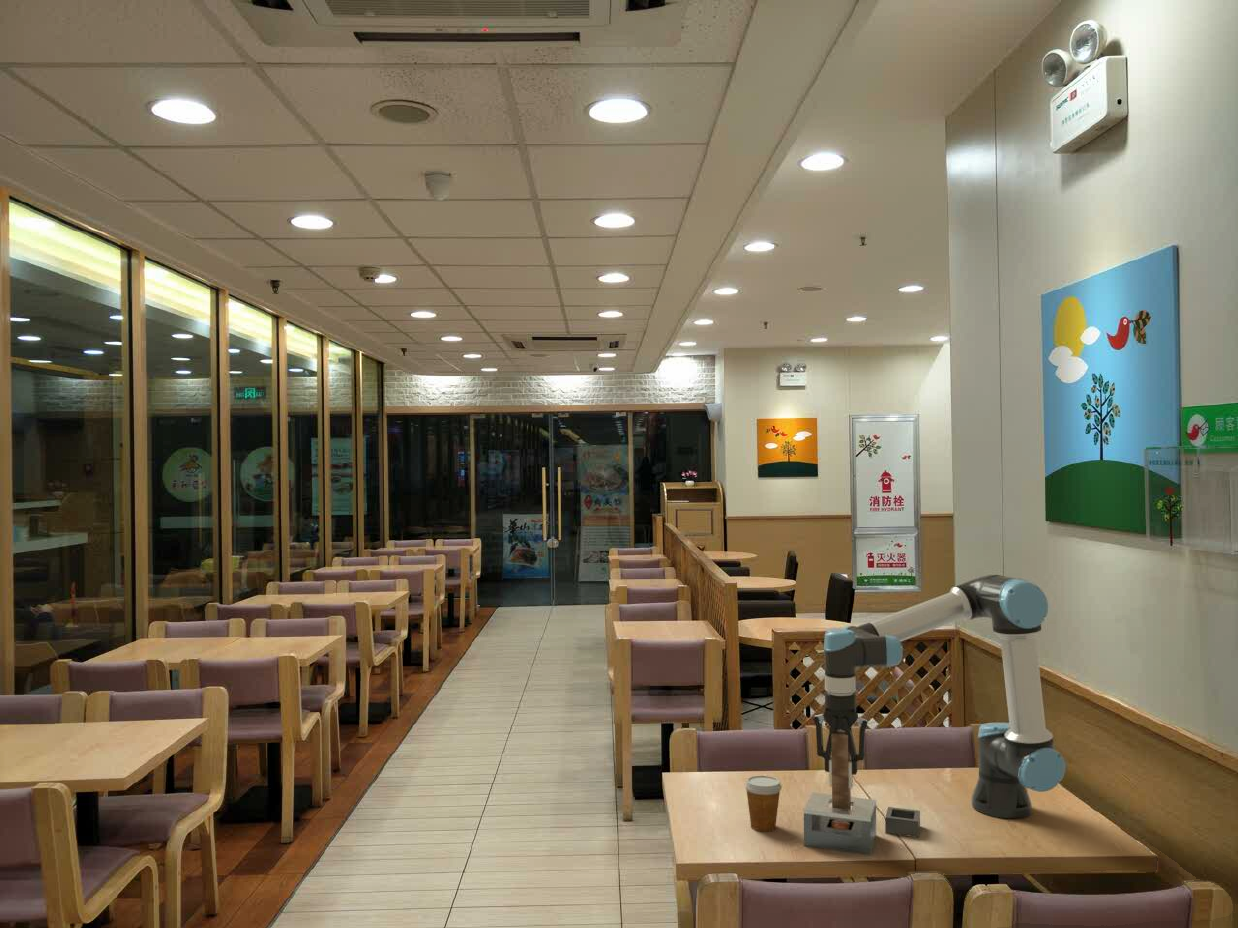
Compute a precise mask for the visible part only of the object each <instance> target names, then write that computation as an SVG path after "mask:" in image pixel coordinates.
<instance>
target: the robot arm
mask: <svg viewBox="0 0 1238 928" xmlns="http://www.w3.org/2000/svg"><path fill="white" fill-rule="evenodd" d="M1048 611H1049V603H1048V599H1047V597H1046V594H1045V592H1044V591H1043V590H1042V589H1041V587H1039V586H1038V585H1037V584H1035V583H1033V582H1031V581H1027V580H1026V579H1023V578H1016V577H1015V578H1014V577H1010V576H1004V575H999V574H989V575H984V576H981V577H978V578H973V579H971V580H968V581H966V582H964V583H961V584H959V585H955V586H953V587H951V588H950V590H949V592H948V593H945V594H942V595H940V596H937V597H934V598H931V599H929V600H926V601H923V602H920V603H918V604H915V605H913V606H910V607H908V608H904V609H902V610H899V611H897V612H894V613H891V614H889V615H886V616H883V617H881V618H877V619H876V620H872V621H870V622H867V623H863V624H861V625H859V626H855V625H846V626H844V627H842V628H833V629H829V630H828V629H827V631H826V632H825V634H824V643H823V651H824V652H823V653H824V655H823V656H824V691H825V693H824V711H823V713H821V714H815V715H814V716H813V718H812V721H813V723H814V725H815V732H816V734H815V735H816V736H815V737H816V754H817V756H818V757H822V758H823V759H824V771H825V772H826V773H829V774H828V779H829V782H828V783H829V785H828V786H829V787H831V788H832V744H831V733H835V731H836V730H843V731H845V734H847V735H848V747H849V751H850V760H849V762H848V767H849V789H853V787H854V776H856V775H857V772H858V762H859V761H863V760H864V759H865V756H866V728H867V726H868V723H869V719H868V718H863V717H860V716H859V714H858V712H857V703H856V702H857V701H856V700H857V699H856V698H857V695H856V694H855V692H856V690H857V689H856V674H857V673H856V670H857V669H860V668H861V669H862V668H883V667H886V668H889V667H894V666H898V665H899V664H901V662H902V660H903V655H904V654H903V646H902V643H901V642H904V641H906V640H908V639H911V638H914V637H916V636H919V635H922V634H924V633H928V632H930V631H933V630H936V629H938V628H941V627H944V626H947V625H949V624H952V623H954V622H957V621H960V620H963V621H965V622H967V621H971V620H974V619H978V618H990V619H991V621H992V622H991V623H992V630H993V633H994V634H995V635H996V636H998V638H999V639H1000V647H1001V659H1002V666H1003V676H1004V685H1005V693H1006V703H1007V714H1008V722H987V723H983V724H981V725H980V726H979V727H978V735H977V739H978V746H977V747H978V779H977V782H976V785H975V787H974V790H973V792H972V796H971V807H972V808H973V809H974V810H976V812H977V811H978V812H980V813H982V814H984V815H987V816H992V817H997V818H1002V819H1022V818H1026V817H1030V816H1031V815H1032V811H1033V810H1032V808H1033V807H1032V802H1031V797H1030V796H1029V793H1028V789H1029V790H1032V791H1034V792H1039V793H1043V792H1048V791H1050V790H1053V789H1054V788H1056V787H1057V786H1058V784H1059V783H1060V782H1061V781H1062V780H1063V778H1064V775H1065V774H1066V773H1065V772H1066V763H1065V759H1064V757H1063V756H1062V754H1061V753H1060V752H1059V751H1058V750H1057V749H1055V742H1054V735H1053V733H1052V732H1051V731H1050V730H1049V729H1047V728H1046V719H1045V718H1046V717H1045V709H1044V700H1043V691H1042V682H1041V681H1042V680H1041V671H1040V664H1039V663H1040V662H1039V655H1038V643H1037V636H1038V635H1039V634H1040V633H1041V632H1042V623H1044V621H1045V618H1046V617H1047V615H1048V613H1049V612H1048ZM824 720H825V721H826V723H827V724H828V725H829V726H830V728H829V730H828V731H829V732H828V737H827V738H828V739H827V743H826V748H825V750H824V734H823V723H824ZM856 722H857V725H858V727H859V733H858V734H859V735H858V737H859V738H858V752H857V750H856V744H855V739H854V735H853V729H852V727H853V725H854V724H855V723H856Z"/></svg>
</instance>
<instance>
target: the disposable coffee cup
mask: <svg viewBox="0 0 1238 928" xmlns="http://www.w3.org/2000/svg"><path fill="white" fill-rule="evenodd" d="M744 788H745V790H746V796H747V805H748V812H749V814H748V815H749V822H750V828H751V829H753V830H754V831H758V832H772V831H774V830H775V829H776V827H777V815H778V808H779V800H780V793H781V789H782V784H781V781H780V779H779V778H777V777H773V776H770V775H751V776H749V777H748V778H746V780H745V782H744Z"/></svg>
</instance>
